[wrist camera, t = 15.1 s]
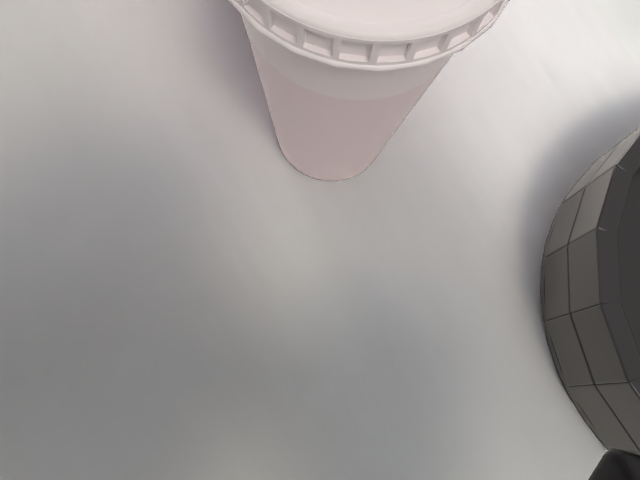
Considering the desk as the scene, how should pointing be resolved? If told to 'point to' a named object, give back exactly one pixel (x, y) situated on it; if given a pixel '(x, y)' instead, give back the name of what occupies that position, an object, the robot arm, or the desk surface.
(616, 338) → the pan
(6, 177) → the desk surface
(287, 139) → the smoothie
